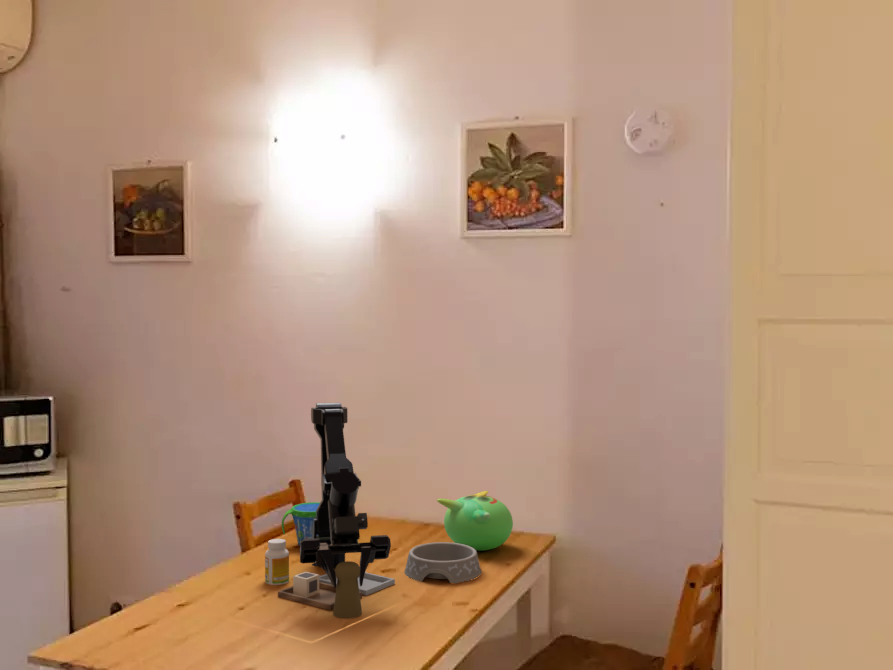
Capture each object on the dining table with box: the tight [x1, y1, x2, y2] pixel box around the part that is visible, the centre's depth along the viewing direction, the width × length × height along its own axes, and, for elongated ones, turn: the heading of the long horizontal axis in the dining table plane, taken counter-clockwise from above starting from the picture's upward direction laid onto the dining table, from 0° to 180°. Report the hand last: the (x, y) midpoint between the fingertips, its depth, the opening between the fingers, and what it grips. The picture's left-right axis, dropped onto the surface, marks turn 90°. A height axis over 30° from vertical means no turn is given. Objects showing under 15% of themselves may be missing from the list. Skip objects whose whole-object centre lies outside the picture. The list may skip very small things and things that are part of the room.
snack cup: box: [281, 501, 321, 546], centre depth 252 cm, size 16×10×10 cm
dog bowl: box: [403, 541, 482, 584], centre depth 229 cm, size 17×18×5 cm
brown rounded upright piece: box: [332, 560, 363, 620], centre depth 199 cm, size 6×6×11 cm
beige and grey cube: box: [292, 571, 320, 598], centre depth 212 cm, size 4×4×4 cm
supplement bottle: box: [264, 538, 290, 586], centre depth 220 cm, size 5×5×10 cm
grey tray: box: [319, 571, 396, 597], centre depth 219 cm, size 15×10×2 cm
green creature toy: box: [436, 490, 514, 552], centre depth 249 cm, size 18×17×15 cm
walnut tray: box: [277, 582, 363, 612], centre depth 209 cm, size 15×10×2 cm
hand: (348, 585), depth 198 cm, fingers closed on brown rounded upright piece, 5 cm apart
